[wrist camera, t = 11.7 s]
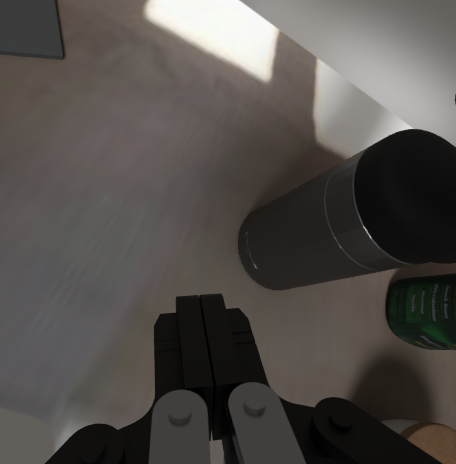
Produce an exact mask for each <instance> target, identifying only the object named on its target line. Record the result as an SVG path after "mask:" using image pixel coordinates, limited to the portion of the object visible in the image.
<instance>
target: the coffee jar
mask: <svg viewBox="0 0 456 464" xmlns="http://www.w3.org/2000/svg"><path fill="white" fill-rule="evenodd" d="M387 317H388V323H389V325H390V328H391V330H392V332H393V333H394V334H395V335H396V336H398V337H399V338H401V339H402V340H404V341H406V342H408V343H410V344H412V345H414V346H417V347H420V348H424V349H430V350H456V273H455V274H446V275H436V276H425V277H415V278H406V279H400V280H398V281H396V282H395V283H394V284H393V286H392V287H391V290H390V293H389V296H388V301H387Z"/></svg>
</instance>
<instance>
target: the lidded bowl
mask: <svg viewBox="0 0 456 464" xmlns="http://www.w3.org/2000/svg"><path fill="white" fill-rule="evenodd" d="M380 422H381V423H383V424H384V425H386V426H387V427H389V428H390V429H392V430H393V431H395V432H396V433H398V434H399V435H401V436H402V437H404V438H405V439H407V440H408V441H410V442H411V443H413V444H414V445H416V446H417V447H419V448H420V449H422V450H423V451H425V452H426V453H428V454H429V455H431V456H432V457H434V458H435V459H437V460H438V461H440V462H441V463H443V464H456V431H455V430H454V429H452V428H451V427H448V426H446V425H443V424H438V423H432V422H421V421H414V420H408V419H391V420H382V421H380Z"/></svg>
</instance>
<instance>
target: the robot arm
mask: <svg viewBox="0 0 456 464" xmlns="http://www.w3.org/2000/svg"><path fill="white" fill-rule="evenodd" d="M455 103H456V95H455ZM238 249H239V255H240V258H241V262H242V264H243V266H244V268H245V270H246V271H247V273H248V274H249V275H250V276H251V278H252V279H254V280H255V281H256V282H257V283H258V284H260V285H262V286H264V287H265V288H269V289H272V290H285V289H291V288H296V287H301V286H308V285H313V284H318V283H324V282H329V281H334V280H339V279H344V278H350V277H355V276H360V275H365V274H371V273H376V272H381V271H386V270H390V269H396V268H401V267H406V266H411V265H417V264H422V263H427V262H435V263H444V264H447V263H456V147H455V146H453V145H452V144H450V143H449V142H448V141H446V140H445V139H443V138H442V137H440V136H437V135H436V134H434V133H431V132H428V131H424V130H419V129H408V130H403V131H399V132H396V133H394V134H392V135H389V136H388V137H386V138H384V139H382V140H381V141H379V142H377V143H375V144H373V145H372V146H370V147H368V148H366V149H365V150H363V151H361V152H359V153H358V154H356V155H354V156H352V157H350V158H349V159H347V160H345V161H343V162H342V163H340V164H338V165H337V166H335V167H333V168H331V169H329V170H328V171H326V172H324V173H322V174H321V175H319V176H317V177H315V178H313V179H312V180H310V181H308V182H306V183H304V184H303V185H301V186H299V187H297V188H296V189H294V190H292V191H290V192H288V193H287V194H285V195H283V196H281V197H279V198H278V199H276V200H274V201H272V202H270V203H269V204H267V205H265V206H263V207H261V208H260V209H258V210H256V211H255V212H253V213H252V214H250V215H249V216H248V217H247V218H246V220H245V221H244V223H243V225H242V226H241V229H240V233H239V237H238ZM154 358H155V399H154V402H153V405H152V407H151V408H150V410H149V411H148V412H147V413H146V415H144V416H143V417H142V418H141V419H139V420H138V421H136V422H134V423H132V424H130V425H128V426H126V427H123V428H121V429H119V430H117V429H115V428H114V427H112V426H110V425H107V424H92V425H88V426H86V427H84V428H82V429H80V430H78V431H77V432H75V433H74V434H73V435H72V436H71V437H70V438H69V439H68V440H67V441H66V442H65V443H64V444H63V445H62V446H61V447H60V448H59V450H58V451H57V452H56V453H55V454H54V455H53V456H52V457H51V458H50V459H49V460H48V461H47V462H46V463H45V464H210V446H209V441H211V431H212V438H213V440H221V439H222V444H223V450H224V461H223V464H443V463H441V462H440V461H438V460H437V459H435V458H434V457H432V456H431V455H429V454H428V453H426V452H425V451H423V450H422V449H420V448H419V447H417V446H416V445H414V444H413V443H411V442H410V441H408V440H407V439H405V438H404V437H402V436H401V435H399V434H398V433H396V432H395V431H393V430H392V429H390V428H389V427H387V426H386V425H384V424H383V423H381V422H380V421H378V420H377V419H376V418H374V417H373V416H371V415H370V414H368V413H367V412H365V411H364V410H362V409H361V408H359V407H358V406H356V405H355V404H353V403H351V402H350V401H348V400H345V399H342V398H337V397H330V398H325V399H323V400H321V401H320V402H319V403H318V404H317V405H316V406H315V408H314V407H309V406H304V405H299V404H294V403H290V402H288V401H286V400H284V399H282V398H280V397H279V396H278V395H277V394H276V393H275V392H274V391H273V390H272V389H271V387H270V386H269V384H268V381H267V378H266V375H265V372H264V368H263V365H262V362H261V359H260V355H259V352H258V349H257V346H256V344H255V339H254V336H253V333H252V329H251V326H250V323H249V320H248V318H247V317H246V316H245V315H244V313H243V312H242V311H241V310H240V309H239V308H233V309H226V307H225V303H224V299H223V296H222V294H206V295H199V297H198V295H193V296H178V297H176V313H166V314H160V316H159V317H158V319H157V321H156V323H155V325H154Z"/></svg>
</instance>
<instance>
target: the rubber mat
mask: <svg viewBox="0 0 456 464" xmlns="http://www.w3.org/2000/svg"><path fill="white" fill-rule="evenodd" d="M0 54H4V55H15V56H27V57H39V58H50V59H62V60H63V52H62V45H61V39H60V32H59V25H58V19H57V12H56V6H55V0H0Z"/></svg>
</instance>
